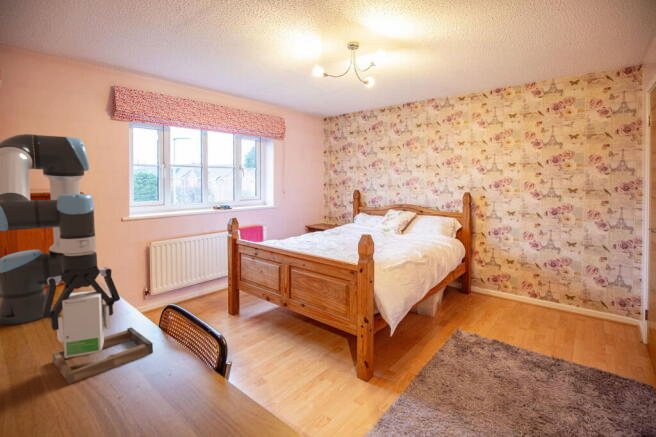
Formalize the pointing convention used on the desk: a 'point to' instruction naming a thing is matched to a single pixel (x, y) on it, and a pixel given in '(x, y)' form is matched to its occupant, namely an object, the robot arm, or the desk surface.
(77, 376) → the brown wooden shallow tray
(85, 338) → the skincare box
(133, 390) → the desk surface
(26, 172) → the robot arm
